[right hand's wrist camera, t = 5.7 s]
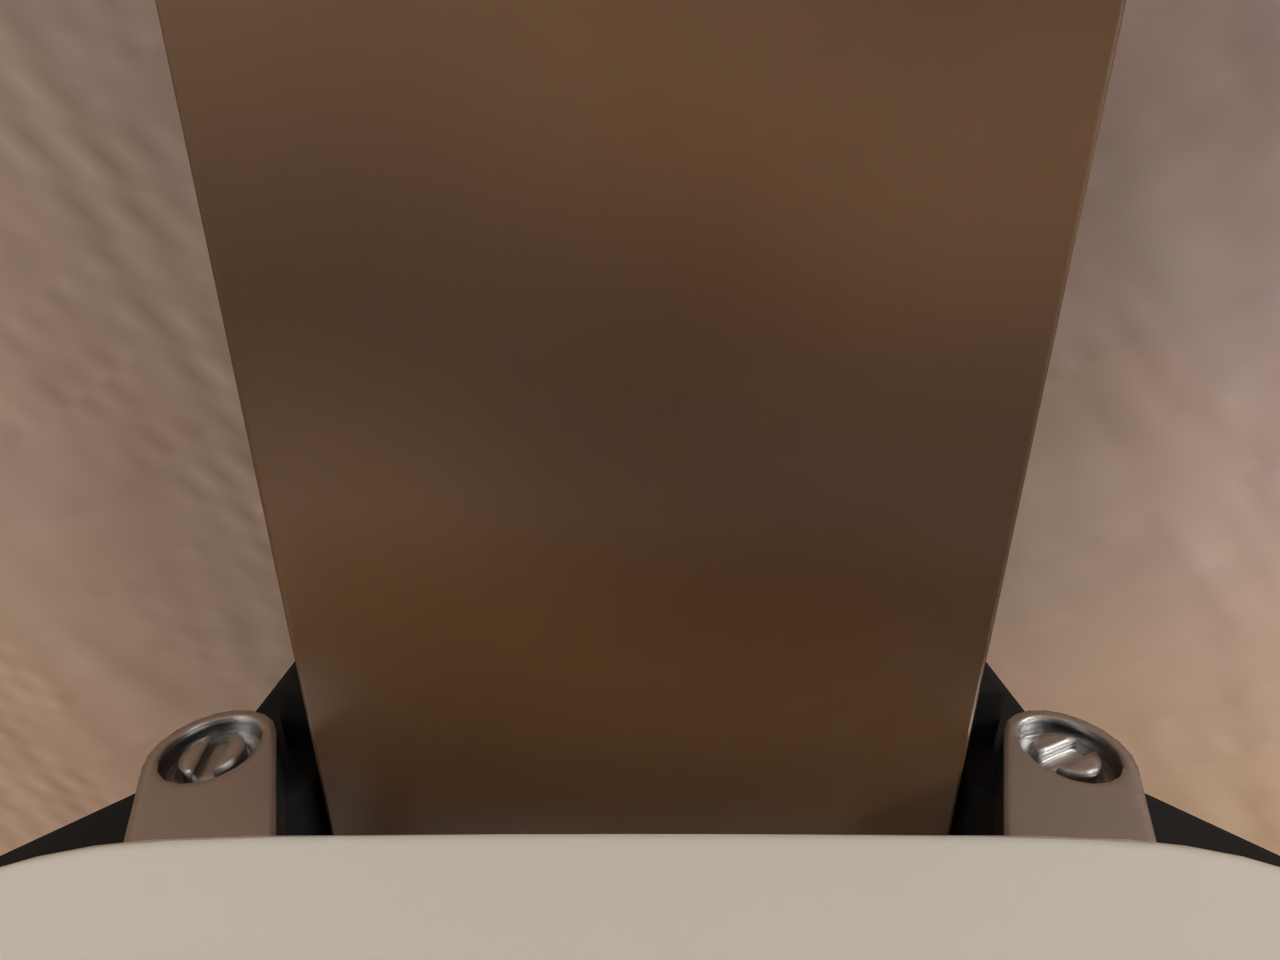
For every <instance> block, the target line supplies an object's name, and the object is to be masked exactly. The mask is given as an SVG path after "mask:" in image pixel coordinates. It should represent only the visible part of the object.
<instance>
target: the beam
mask: <svg viewBox="0 0 1280 960" xmlns="http://www.w3.org/2000/svg"><path fill="white" fill-rule="evenodd" d="M155 1H156V6H157V10H158V15H159V20H160V25H161V29H162V34H163V39H164V43H165V48H166V53H167V58H168V62H169V67H170V72H171V77H172V81H173V86H174V91H175V95H176V100H177V105H178V110H179V114H180V119H181V124H182V129H183V133H184V138H185V143H186V147H187V152H188V157H189V162H190V166H191V171H192V176H193V181H194V185H195V190H196V195H197V199H198V204H199V209H200V214H201V218H202V223H203V228H204V233H205V237H206V242H207V247H208V251H209V256H210V261H211V266H212V270H213V275H214V280H215V285H216V289H217V294H218V299H219V303H220V308H221V313H222V318H223V322H224V327H225V332H226V337H227V341H228V346H229V351H230V355H231V360H232V365H233V370H234V374H235V379H236V384H237V389H238V393H239V398H240V403H241V407H242V412H243V417H244V422H245V426H246V431H247V436H248V441H249V445H250V450H251V455H252V459H253V464H254V469H255V474H256V478H257V483H258V488H259V493H260V497H261V502H262V507H263V511H264V516H265V521H266V526H267V530H268V535H269V540H270V545H271V549H272V554H273V559H274V563H275V568H276V573H277V578H278V582H279V587H280V592H281V597H282V601H283V606H284V611H285V615H286V620H287V625H288V630H289V634H290V639H291V644H292V649H293V653H294V658H295V663H296V667H297V672H298V677H299V682H300V686H301V691H302V696H303V701H304V705H305V710H306V715H307V719H308V724H309V729H310V734H311V738H312V743H313V748H314V753H315V757H316V762H317V767H318V771H319V776H320V781H321V786H322V790H323V795H324V800H325V805H326V809H327V814H328V819H329V823H330V828H331V833H332V835H445V834H836V835H949V832H950V827H951V823H952V818H953V813H954V809H955V804H956V799H957V794H958V790H959V785H960V780H961V776H962V771H963V766H964V761H965V757H966V752H967V747H968V743H969V738H970V733H971V729H972V724H973V719H974V714H975V710H976V705H977V700H978V696H979V691H980V686H981V681H982V677H983V672H984V667H985V663H986V658H987V653H988V648H989V644H990V639H991V634H992V630H993V625H994V620H995V615H996V611H997V606H998V601H999V597H1000V592H1001V587H1002V582H1003V578H1004V573H1005V568H1006V564H1007V559H1008V554H1009V550H1010V545H1011V540H1012V535H1013V531H1014V526H1015V521H1016V517H1017V512H1018V507H1019V502H1020V498H1021V493H1022V488H1023V484H1024V479H1025V474H1026V469H1027V465H1028V460H1029V455H1030V451H1031V446H1032V441H1033V436H1034V432H1035V427H1036V422H1037V418H1038V413H1039V408H1040V403H1041V399H1042V394H1043V389H1044V385H1045V380H1046V375H1047V371H1048V366H1049V361H1050V356H1051V352H1052V347H1053V342H1054V338H1055V333H1056V328H1057V323H1058V319H1059V314H1060V309H1061V305H1062V300H1063V295H1064V290H1065V286H1066V281H1067V276H1068V272H1069V267H1070V262H1071V257H1072V253H1073V248H1074V243H1075V239H1076V234H1077V229H1078V225H1079V220H1080V215H1081V210H1082V206H1083V201H1084V196H1085V192H1086V187H1087V182H1088V177H1089V173H1090V168H1091V163H1092V159H1093V154H1094V149H1095V144H1096V140H1097V135H1098V130H1099V126H1100V121H1101V116H1102V111H1103V107H1104V102H1105V97H1106V93H1107V88H1108V83H1109V78H1110V74H1111V69H1112V64H1113V60H1114V55H1115V50H1116V46H1117V41H1118V36H1119V31H1120V27H1121V22H1122V17H1123V13H1124V8H1125V3H1126V0H155Z"/></svg>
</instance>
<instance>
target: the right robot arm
mask: <svg viewBox="0 0 1280 960" xmlns="http://www.w3.org/2000/svg"><path fill="white" fill-rule="evenodd" d="M0 960H1280V856H1279V855H1277V854H1274V853H1272V852H1270V851H1268V850H1266V849H1264V848H1262V847H1259V846H1257V845H1255V844H1253V843H1251V842H1249V841H1246V840H1244V839H1242V838H1240V837H1238V836H1236V835H1233V834H1231V833H1229V832H1227V831H1225V830H1223V829H1221V828H1218V827H1216V826H1214V825H1212V824H1210V823H1208V822H1205V821H1203V820H1201V819H1199V818H1197V817H1195V816H1192V815H1190V814H1188V813H1186V812H1184V811H1182V810H1180V809H1177V808H1175V807H1173V806H1171V805H1169V804H1167V803H1164V802H1162V801H1160V800H1158V799H1156V798H1154V797H1152V796H1149V795H1147V794H1145V793H1144V790H1143V786H1142V782H1141V778H1140V774H1139V770H1138V767H1137V765H1136V763H1135V761H1134V759H1133V757H1132V755H1131V754H1130V753H1129V752H1128V750H1127V749H1126V748H1125V747H1124V746H1123V745H1122V744H1121V743H1120V742H1119V741H1118V740H1116V739H1115V738H1113V737H1112V736H1111V735H1109V734H1108V733H1106V732H1105V731H1104V730H1102V729H1100V728H1098V727H1096V726H1094V725H1092V724H1090V723H1088V722H1086V721H1084V720H1081V719H1078V718H1075V717H1072V716H1069V715H1066V714H1062V713H1057V712H1051V711H1045V710H1041V711H1024V710H1023V709H1022V707H1021V706H1020V705H1019V704H1018V702H1017V701H1016V700H1015V698H1014V697H1013V696H1012V695H1011V693H1010V692H1009V691H1008V689H1007V688H1006V687H1005V686H1004V684H1003V683H1002V682H1001V681H1000V679H999V678H998V677H997V675H996V674H995V673H994V672H993V670H992V669H991V668H990V666H989V665H988V664H987V663H985V667H984V672H983V677H982V681H981V686H980V691H979V696H978V700H977V705H976V710H975V714H974V719H973V724H972V729H971V733H970V738H969V743H968V747H967V752H966V757H965V761H964V766H963V771H962V776H961V780H960V785H959V790H958V794H957V799H956V804H955V809H954V813H953V818H952V823H951V827H950V832H949V835H836V834H445V835H332V833H331V828H330V823H329V819H328V814H327V809H326V805H325V800H324V795H323V790H322V786H321V781H320V776H319V771H318V767H317V762H316V757H315V753H314V748H313V743H312V738H311V734H310V729H309V724H308V719H307V715H306V710H305V705H304V701H303V696H302V691H301V686H300V682H299V677H298V672H297V667H296V663H295V662H294V663H293V665H292V666H291V667H290V668H289V670H288V671H287V672H286V674H285V675H284V676H283V677H282V679H281V680H280V681H279V683H278V684H277V685H276V686H275V688H274V689H273V690H272V692H271V693H270V694H269V695H268V697H267V698H266V699H265V700H264V702H263V703H262V704H261V706H260V707H259V708H258V709H257V711H256V712H255V711H238V710H235V711H229V712H223V713H218V714H214V715H211V716H208V717H205V718H202V719H199V720H196V721H194V722H192V723H190V724H188V725H186V726H184V727H182V728H180V729H178V730H176V731H175V732H174V733H172V734H171V735H169V736H168V737H167V738H165V739H164V740H162V741H161V742H160V743H159V744H158V745H157V746H156V747H155V748H154V749H153V750H152V752H151V753H150V754H149V755H148V757H147V759H146V761H145V763H144V765H143V767H142V770H141V774H140V778H139V782H138V786H137V790H136V793H135V794H133V795H131V796H129V797H127V798H125V799H122V800H120V801H118V802H116V803H114V804H112V805H109V806H107V807H105V808H103V809H101V810H99V811H97V812H94V813H92V814H90V815H88V816H86V817H84V818H81V819H79V820H77V821H75V822H73V823H71V824H68V825H66V826H64V827H62V828H60V829H58V830H55V831H53V832H51V833H49V834H47V835H45V836H43V837H40V838H38V839H36V840H34V841H32V842H30V843H27V844H25V845H23V846H21V847H19V848H17V849H14V850H12V851H10V852H8V853H6V854H4V855H2V856H0Z"/></svg>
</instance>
